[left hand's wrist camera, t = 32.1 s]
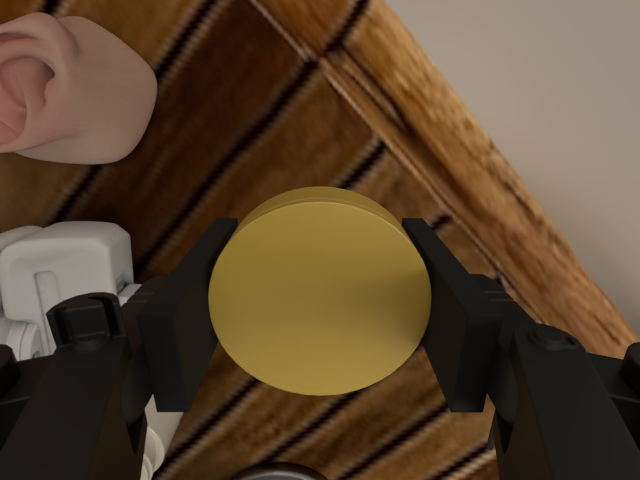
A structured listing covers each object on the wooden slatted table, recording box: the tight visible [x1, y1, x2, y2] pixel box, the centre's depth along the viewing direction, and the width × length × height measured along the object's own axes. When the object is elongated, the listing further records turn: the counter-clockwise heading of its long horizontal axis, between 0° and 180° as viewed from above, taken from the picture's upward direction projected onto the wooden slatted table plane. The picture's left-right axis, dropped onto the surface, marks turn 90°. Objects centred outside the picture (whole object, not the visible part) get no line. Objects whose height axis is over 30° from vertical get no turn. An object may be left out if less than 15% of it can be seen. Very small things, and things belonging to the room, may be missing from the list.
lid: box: [208, 187, 432, 396], centre depth 11 cm, size 6×6×2 cm
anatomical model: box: [0, 12, 157, 164], centre depth 27 cm, size 13×4×12 cm
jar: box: [141, 395, 184, 480], centre depth 28 cm, size 5×5×17 cm
